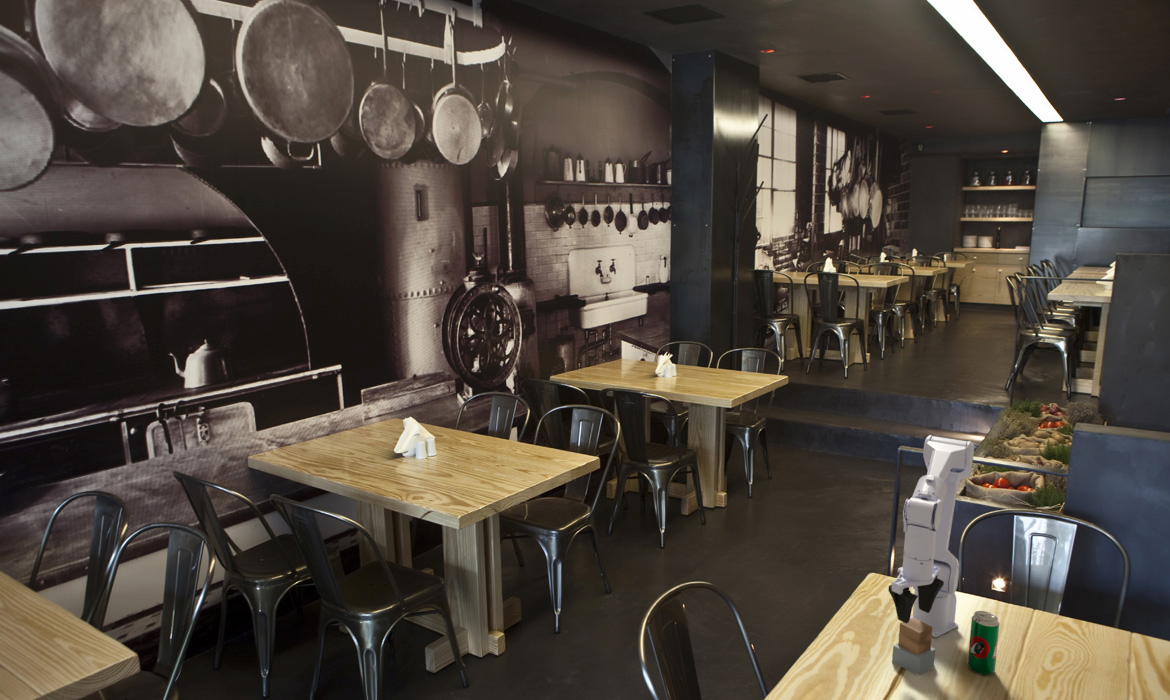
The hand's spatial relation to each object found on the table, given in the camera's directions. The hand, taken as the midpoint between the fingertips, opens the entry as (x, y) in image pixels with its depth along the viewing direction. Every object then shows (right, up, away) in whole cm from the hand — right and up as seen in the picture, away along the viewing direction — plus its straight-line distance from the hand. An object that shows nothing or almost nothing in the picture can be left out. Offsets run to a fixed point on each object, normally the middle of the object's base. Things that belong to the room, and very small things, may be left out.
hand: (913, 615), depth 156 cm
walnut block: (0, -7, 0) cm, 7 cm away
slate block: (0, -11, +1) cm, 11 cm away
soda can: (+13, -11, -1) cm, 17 cm away
